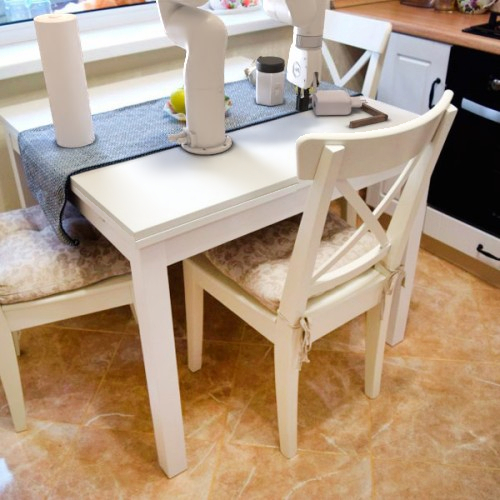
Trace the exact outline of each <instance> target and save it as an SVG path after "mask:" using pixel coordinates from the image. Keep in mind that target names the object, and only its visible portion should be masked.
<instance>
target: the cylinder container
mask: <svg viewBox="0 0 500 500" xmlns="http://www.w3.org/2000/svg"><path fill="white" fill-rule="evenodd" d="M33 22H34V23H33V24H34V29H35V34H36V40H37V45H38V50H39V56H40V61H41V67H42V73H43V77H44V82H45V87H46V93H47V98H48V103H49V110H50V114H51V115H50V116H51V120H52V124H53V130H54V134H55V141H56V144H57V145H58V146H60V147H61V148H70V149H71V148H72V149H73V148H81V147H86V146H88V145H90V144H92V143H94V142H95V140H96V135H95V130H94V129H95V128H94V122H93V117H92V111H91V109H92V108H91V103H90V97H89V88H88V83H87V76H86V75H87V74H86V69H85V68H86V67H85V63H84V55H83V48H82V42H81V34H80V27H79V22H78V16H77V15H76V14H73V13H67V12H54V13H53V12H52V13H45V14H44V13H43V14H39V15H37V16H35V17H33Z"/></svg>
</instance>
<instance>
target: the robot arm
mask: <svg viewBox="0 0 500 500" xmlns="http://www.w3.org/2000/svg"><path fill="white" fill-rule="evenodd" d="M155 1H156V6H157V11H158V14H159V17H160V22H161V25H162V28H163V31H164V33H165V35H166V38H167V39H168V40H169V41H170V42H171V43H172V44H174V45H175V46H177V47H179V48H182V49H183V50H185V51H186V57H185V61H184V66H183V84H184V85H183V89H184V91H183V92H184V107H185V126H182V131H179V132H178V133H171V134H168V135H167V140H168V142H169V143H170V144H172V143H177V145H180V146H181V148H182V149H183V150H185V151H186V152H188V153H191V154H196V155H215V154H220V153H223V152H225V151H227V150H228V149H230V148H231V146H232V143H233V142H232V138H231V136H230V135H229V134H226V95H225V94H226V93H225V92H226V90H225V88H226V87H225V63H226V62H225V61H226V53H227V47H228V40H229V36H228V29H227V26H226V25H225V23H224V21H223V20H222V19H221V18H220V17H219V16H218V15H216V14H215V13H213V12H211V11H209V10H205V9H203V8H199V7H203V6H205V5H206V4H207V3H208V2H209V1H210V0H155ZM262 6H263V11H264V13H265V15H266V16H267V17H268V18H269V19H271V20H274V21H276V22H279V23H281V24H286V25H289V26H292V27H293V34H292V43H291V46H290V50H289V54H288V62H287V68H286V69H287V70H286V80H287V81H288V82H289V83H291V84H292V85H293V87H294V91H295V93H294V94H295V96H296V97H295V111H296V112H298V113H303V112H307V111H309V107H310V103H309V97H312V94H316V93H317V91H318V88H319V87H320V86H321V82H322V74H323V73H322V72H323V51H322V50H323V49H322V48H323V38H324V28H325V19H326V9H327V8H326V7H327V0H263V3H262Z"/></svg>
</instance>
